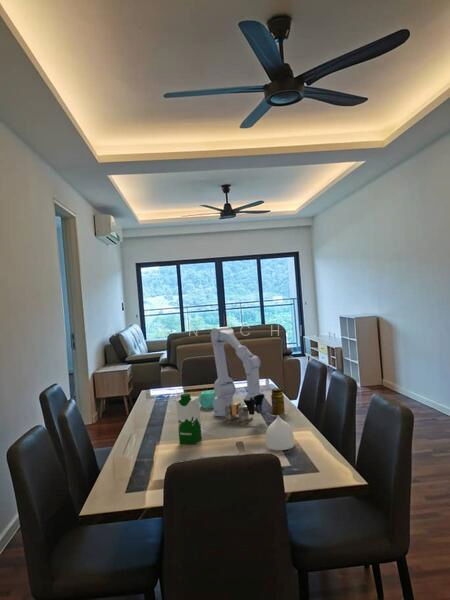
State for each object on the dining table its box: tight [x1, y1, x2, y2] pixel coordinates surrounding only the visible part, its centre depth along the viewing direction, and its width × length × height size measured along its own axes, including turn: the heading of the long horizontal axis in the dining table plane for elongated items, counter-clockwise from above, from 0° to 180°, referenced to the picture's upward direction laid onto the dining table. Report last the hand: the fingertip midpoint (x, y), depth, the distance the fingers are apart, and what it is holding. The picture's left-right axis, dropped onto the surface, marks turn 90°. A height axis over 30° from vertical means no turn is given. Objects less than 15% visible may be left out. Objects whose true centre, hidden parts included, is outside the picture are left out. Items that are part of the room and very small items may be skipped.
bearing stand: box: [222, 402, 254, 426], centre depth 206 cm, size 10×10×8 cm
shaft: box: [231, 404, 263, 414], centre depth 204 cm, size 15×4×4 cm, turn 61°
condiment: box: [265, 387, 288, 418], centre depth 214 cm, size 7×8×12 cm
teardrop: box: [265, 415, 295, 451], centre depth 170 cm, size 11×11×12 cm
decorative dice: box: [199, 389, 216, 409], centre depth 238 cm, size 8×8×8 cm
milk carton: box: [175, 393, 203, 445], centre depth 181 cm, size 9×9×20 cm
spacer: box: [232, 401, 242, 416], centre depth 206 cm, size 2×5×5 cm, turn 151°
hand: (255, 412), depth 201 cm, fingers open, 7 cm apart
